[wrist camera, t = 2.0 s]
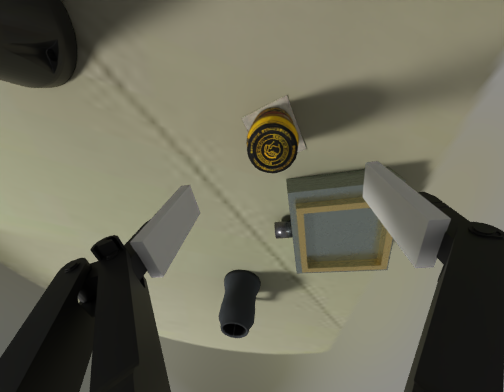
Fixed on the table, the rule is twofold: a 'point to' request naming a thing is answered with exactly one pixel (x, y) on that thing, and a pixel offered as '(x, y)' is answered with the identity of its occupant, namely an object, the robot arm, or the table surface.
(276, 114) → the condiment
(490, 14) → the table surface
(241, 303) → the mug
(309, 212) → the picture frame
